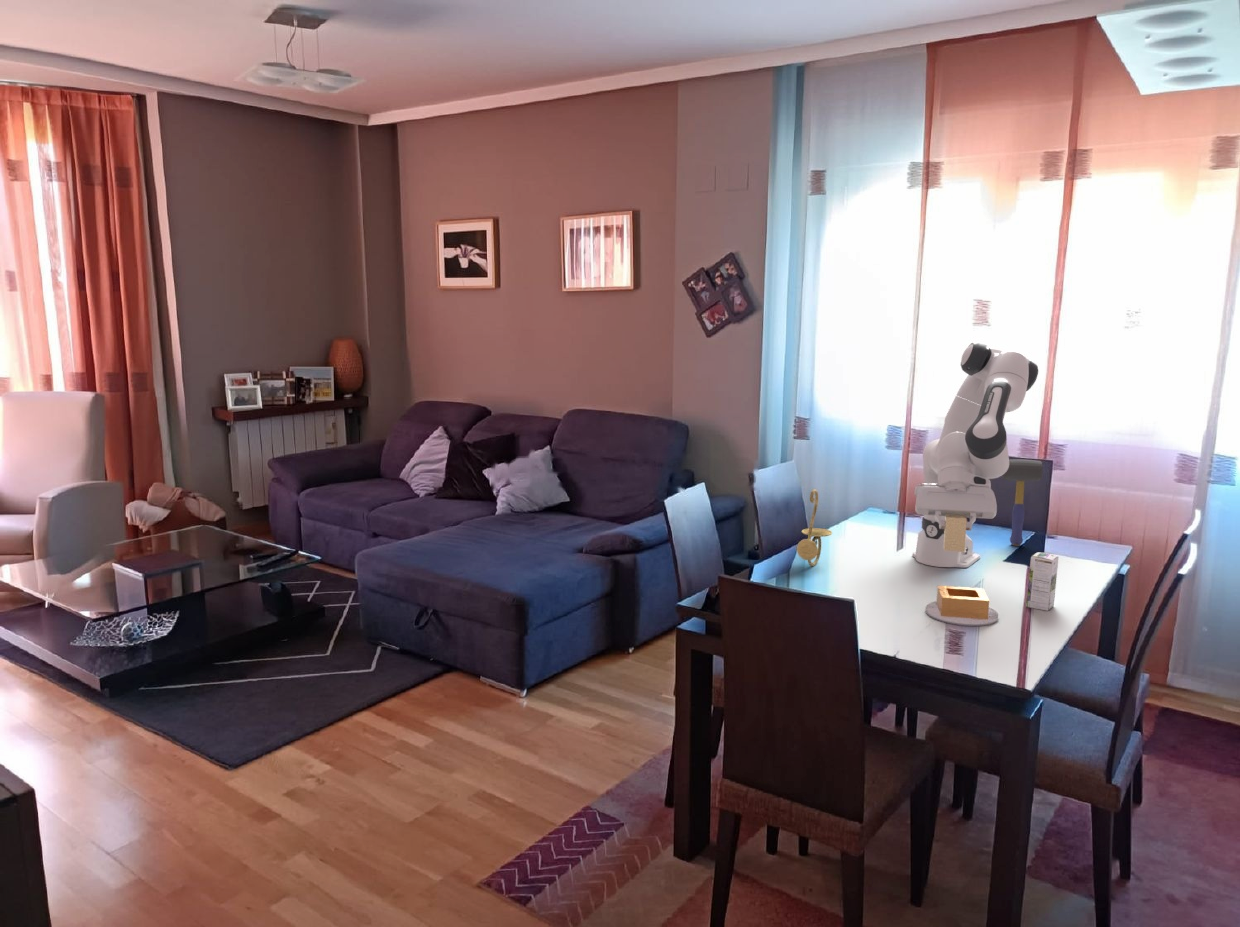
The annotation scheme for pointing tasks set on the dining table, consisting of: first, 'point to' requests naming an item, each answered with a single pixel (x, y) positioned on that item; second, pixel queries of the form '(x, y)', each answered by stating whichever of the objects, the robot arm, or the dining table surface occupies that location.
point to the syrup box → (1042, 581)
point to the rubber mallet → (1021, 491)
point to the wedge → (955, 533)
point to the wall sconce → (809, 547)
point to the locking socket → (962, 607)
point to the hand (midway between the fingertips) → (955, 528)
